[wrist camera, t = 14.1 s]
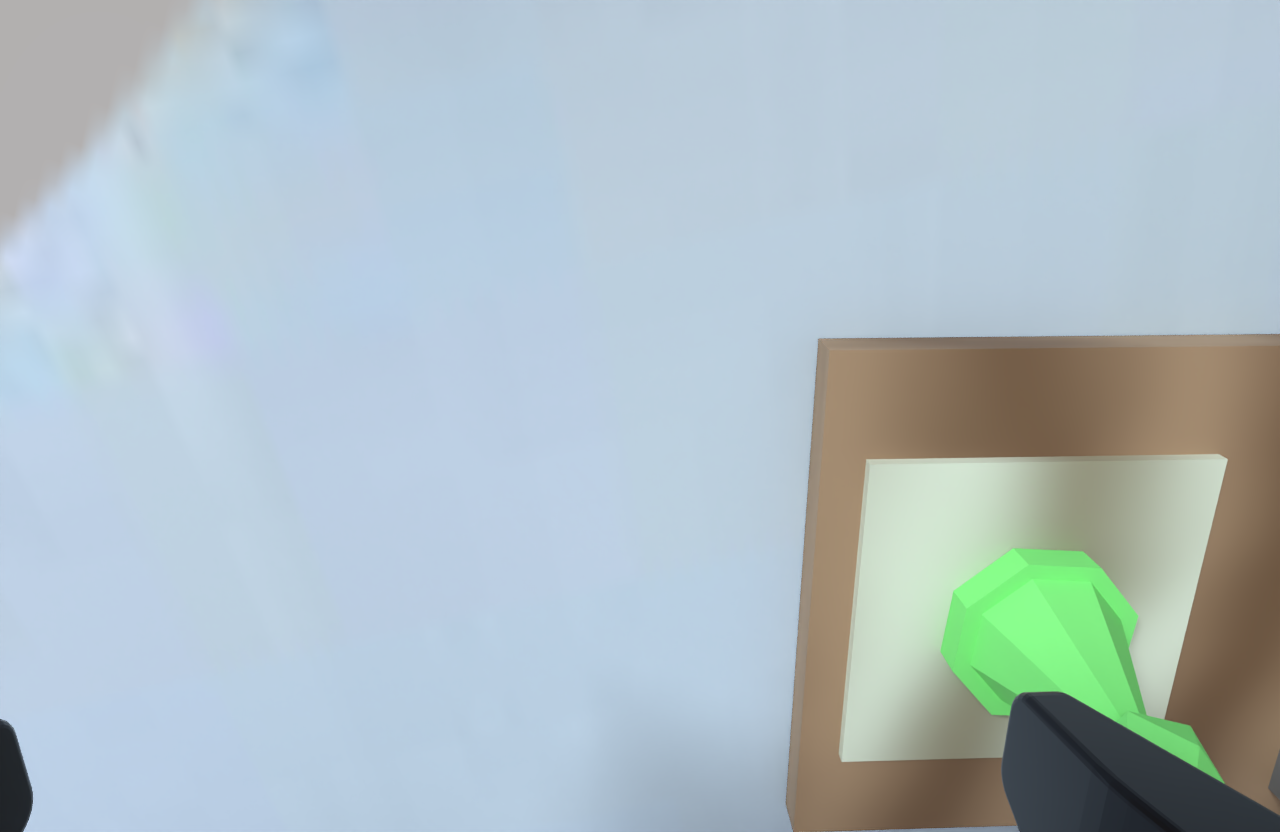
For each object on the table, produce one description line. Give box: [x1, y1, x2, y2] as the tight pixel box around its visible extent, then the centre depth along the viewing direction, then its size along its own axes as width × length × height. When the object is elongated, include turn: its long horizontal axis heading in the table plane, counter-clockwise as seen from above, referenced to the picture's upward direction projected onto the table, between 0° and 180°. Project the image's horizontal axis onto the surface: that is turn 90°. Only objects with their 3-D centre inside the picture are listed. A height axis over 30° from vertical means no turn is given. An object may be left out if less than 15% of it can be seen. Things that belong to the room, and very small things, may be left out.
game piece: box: [940, 548, 1225, 784], centre depth 17 cm, size 4×4×6 cm
